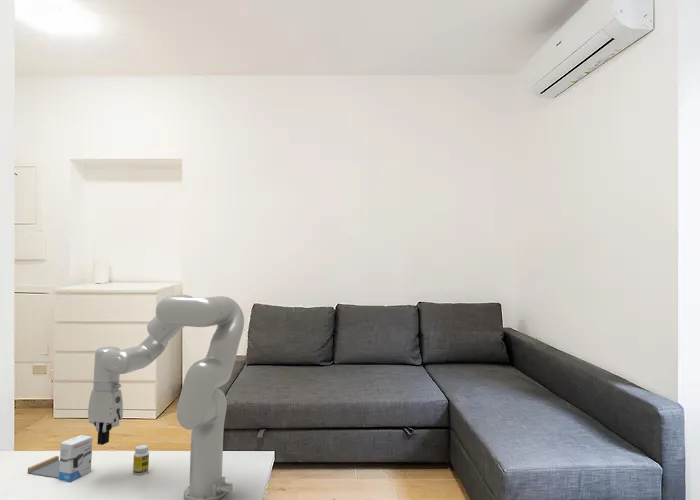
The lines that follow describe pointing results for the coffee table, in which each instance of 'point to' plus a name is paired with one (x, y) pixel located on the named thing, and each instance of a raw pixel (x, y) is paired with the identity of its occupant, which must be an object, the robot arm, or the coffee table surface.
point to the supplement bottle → (141, 460)
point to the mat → (46, 468)
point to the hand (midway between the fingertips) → (103, 443)
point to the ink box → (75, 458)
